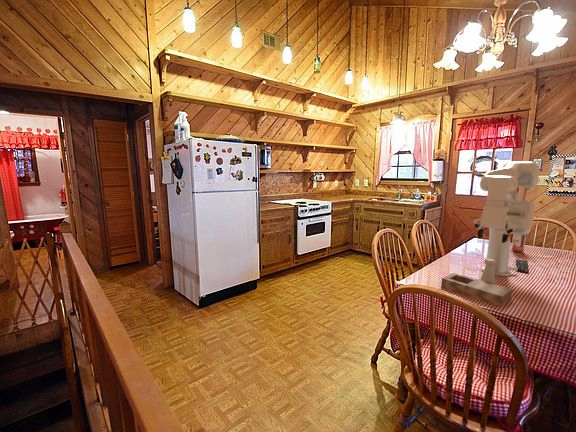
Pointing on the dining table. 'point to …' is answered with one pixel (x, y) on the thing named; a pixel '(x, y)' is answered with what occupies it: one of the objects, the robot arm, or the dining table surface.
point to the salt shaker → (489, 271)
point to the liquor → (518, 243)
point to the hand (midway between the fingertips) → (491, 240)
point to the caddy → (477, 289)
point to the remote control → (522, 266)
